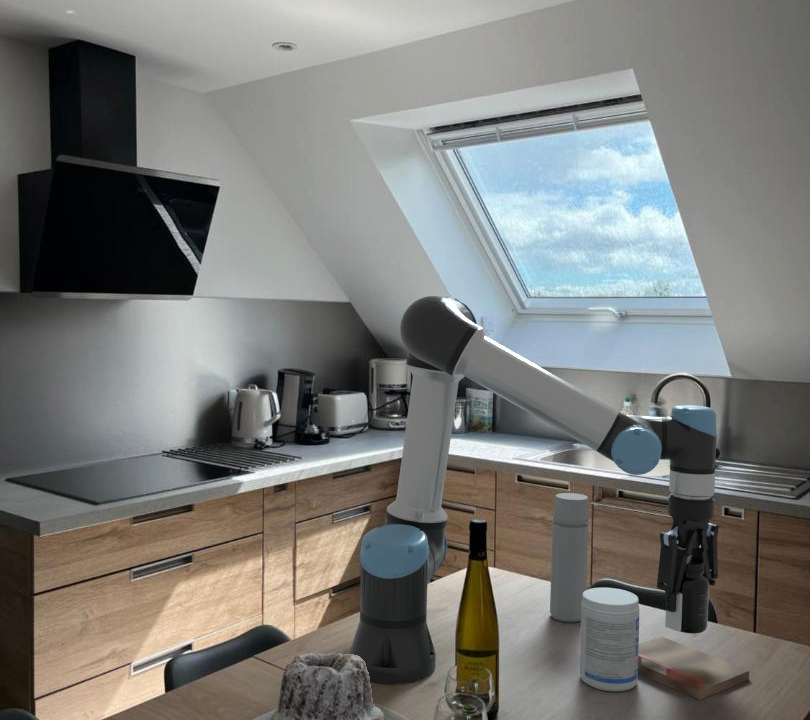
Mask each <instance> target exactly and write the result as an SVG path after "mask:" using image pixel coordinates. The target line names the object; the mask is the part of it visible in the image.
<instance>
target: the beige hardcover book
mask: <svg viewBox="0 0 810 720" xmlns="http://www.w3.org/2000/svg"><path fill="white" fill-rule="evenodd" d="M638 674H640V675H642V676H645V677H646V678H649V679H650V680H653V681H656V682H658V683H660V684H662V685H665V686H667V687H669V688H672V689H674V690H676V691H678V692H681V693H682V694H684V695H687V696H689V697H692V698H694V699H697V701H701V700H703V699H705V698H708V697H710V696H712V695H715V694H717V693H720V692H722V691H724V690H727V689H729V688H732V687H734V686H736V685H739V684H742V683H744V682H746V681H748V680H750V670H748V669H745V668H743V667H740V666H738V665H736V664H733V663H730V662H728V661H725V660H724V659H720V658H718V657H715V656H713V655H711V654H710V655H709V654H708V653H705V652H703V651H701V650H697V649H695V648H692V647H690V646H686V645H685V644H682V643H679V642H677V641H674V640H671V639H669V638H667V637H664V636H659V637H657V638H653V639H650V640H647V641H644V642H641V643H639V650H638Z"/></svg>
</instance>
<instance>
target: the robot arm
mask: <svg viewBox="0 0 810 720" xmlns="http://www.w3.org/2000/svg"><path fill="white" fill-rule="evenodd" d="M477 322H478V321H477V319H476V317H475V314H474V313H473V311H472V309H471V308H470V307H469V306H468V305H467V304H465V303H464V301H463V302H462V301H461V300H459V299H457V298H454V297H450V296H438V295H430V296H429V295H428V296H424V297H421V298H419V299H417V300H415V301H414V302H412V303H411V304H410V305H409V306H408V307H407V309H406V310H405V311H404V313H403V315H402V318H401V321H400V326H399V329H400V330H399V331H400V338H401V341H402V343H403V345H404V347H405V348H406V350H407V356H406V367H407V369H408V371H410V373H411V375H412V379H411V380H412V381H411V389H410V396H409V402H408V410H407V417H406V418H407V419H406V426H405V433H404V439H403V440H404V441H403V448H402V456H401V462H400V468H399V469H400V470H399V476H398V483H397V484H398V485H397V493H396V499H395V500H394V501H393V502H391V503H390V504H389V505H388V506H386V513H385V518H384V519H385V521H384V525H381V527H380V526H379V527H378V526H377V527H374V528H372V529H370V530H369V531H368V532H367V533H366V534H365V535H364V536H363V538H362V540H361V545H360V550H359V551H360V552H359V561H360V577H359V578H360V581H359V582H360V583H359V584H360V585H359V586H360V587H359V588H360V590H359V622H358V626H357V627H356V631H355V633H354V637H353V641H352V645H351V646H350V649H349V652H348V655H349V654H354V655H358V656H360V657H361V658H362V659H363V660H364V661H365V663H366V667H367V670H368V672H369V676H370V680H371V681H370V680H369V681H370V682H375V683H381V684H392V685H394V684H406V683H407V684H408V683H412V682H416V681H419V680H423V679H425V678H427V677H429V676H430V675H431V674H432V673H433V672H434V671H435V669H436V661H437V660H436V658H437V656H436V655H437V653H436V649H435V646H434V643H433V640H432V637H431V633H430V630H429V626H428V622H427V615H428V613H427V612H428V611H427V610H428V609H427V606H428V584H429V582H430V581H431V579H432V578H433V577H434V575H435V573H436V572H437V571H438V570H439V569H440V567H441V566H442V565H443V562H444V561H445V559H446V556H447V551H448V537H447V534H446V532H447V525H448V518H449V517H448V513H446V511H445V510H444V509H443V507H442V503H443V502H442V501H443V496H444V490H445V489H444V486H445V482H446V474H447V467H448V459H449V452H450V444H451V439H452V433H453V431H452V430H453V425H454V416H455V412H456V411H455V410H456V403H457V402H456V401H457V395H458V389H459V382H460V381H461V380H462V379H464V378H465V377H466V378H467V379H469V380H471V381H472V382H474V383H476V384H478V385H479V386H481V387H483V388H485V389H487V390H488V391H490V392H492V393H494V394H495V395H497V396H499V397H500V398H502V399H504V400H506V401H508V402H509V403H511V404H513V405H514V406H516V407H518V408H520V409H521V410H524V411H525V412H527V413H528V414H530V415H532V416H534V417H536V418H537V419H539V420H541V421H543V423H546V424H549V426H552V427H553V428H555V429H557V430H559V431H560V432H562V433H564V434H566V435H567V436H569V437H570V438H573V439H574V440H576V441H578V442H579V443H581V444H583V445H585V446H587V447H588V448H590V449H592V450H594V451H595V452H597V453H599V454H600V455H601V456H603V457H605V458H607V459H609V460H610V461H611V462H613V463H614V464H615V465H616V467H618V468H619V469H620V470H621V471H623V472H624V473H627V474H629V475H633V476H642V475H645V474H648V473H650V472H651V471H653V469H655V468H656V467H657V465H659V462H660V460H662V461H663V460H664V461H665V460H668V461H669V481H668V482H669V483H668V490H669V492H671V493H670V494H669V495H668V503H667V504H668V505H667V513H668V515H669V516H670V517H671V518H672V524H671V528H670V530H669V531H668V532H664V531H661V532H660V533H659V543H660V552H659V553H660V554H659V560H658V561H659V562H658V572H657V581H656V582H657V583H656V588H657V589H658V590H660V591H664V592H665V595H664V596H665V599H664V602H665V603H664V604H665V605H664V609H665V619H664V620H665V621H664V622H665V623H664V626H665V628H667V629H670V630H673V631H676V632H677V633H678V632H679V631H681V621H682V593H679V590H680V586H681V582H682V578H683V574H684V570H685V566H686V562H687V558H688V557H695V558H699V559H701V560H703V561H704V573H703V575H704V576H705V577H706V578H707V579H708V581H709V586H712V587H714V586H715V585H716V582H717V581H716V580H717V579H718V577H719V566H718V564H719V563H718V561H719V560H718V535H719V530H720V526H719V525H718V524H714V523H711V522H708V521H711V520H712V519H713V518H714V513H715V512H714V511H715V509H714V508H715V499H714V497H712V496H714V495H715V492H716V490H715V489H716V461H717V460H716V459H717V458H716V457H717V439H718V434H717V412H716V411H715V410H714V409H713V408H711V407H708V406H702V405H687V404H686V405H675V406H673V407H672V408H671V413H670V415H668V416H653V415H652V416H651V415H649V416H648V415H635V414H634V415H632V414H624V413H623V412H620V411H619V410H617V409H616V408H614V407H611V406H610V405H608V404H606V403H604V401H601V400H599V399H598V398H597V397H594V396H592V395H590V394H589V393H586V392H585V391H584V390H583V389H579V388H578V387H576V386H575V385H572V384H571V383H569V382H567V381H566V380H564V379H562V378H560V377H559V376H556V375H555V374H553V373H551V372H550V371H548V370H546V369H544V368H542V367H541V366H539V365H537V364H536V363H534V362H531V361H530V360H528V359H527V358H525V357H523V356H521V355H519V354H518V353H515V352H514V351H512V350H510V349H509V348H507V347H505V346H504V345H501V344H499V343H498V342H497V341H495V340H493V339H491V338H489V337H487V336H486V335H485V331H484V327H482V326H480V325H478V323H477ZM673 585H674V586H673ZM679 633H680V632H679Z"/></svg>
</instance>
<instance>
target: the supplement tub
mask: <svg viewBox="0 0 810 720" xmlns="http://www.w3.org/2000/svg"><path fill="white" fill-rule="evenodd" d="M639 602H640V601H639V597H638V595H636V594H635V593H633V592H630V591H628V590H625V589H621V588H614V587H593V588H589V589H586V591H584V592H583V595H582V602H581V603H582V604H581V621H580V648H579V649H580V650H579V651H580V652H579V653H580V654H579V656H580V657H579V658H580V659H579V675H580V678H581V680H582V681H583V683H586V684H587V686H590V687H593V688H594V689H596V690H599V691H605V692H606V691H607V692H625V691H628V690H631V689H633V688H634V687H635V686H636V685H637V683H638V679H639V673H638V650H639V644H640V643H639V642H640V641H639V639H640V605H639V604H640V603H639Z"/></svg>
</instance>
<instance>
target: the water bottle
mask: <svg viewBox="0 0 810 720" xmlns="http://www.w3.org/2000/svg"><path fill="white" fill-rule="evenodd" d="M554 498H555V499H554V505H553V506H554V507H553V513H552V516H551V517H550V519H551V520H553V521H552V531H551V563H550V564H551V565H550V568H551V569H550V595H549V597H550V599H549V601H550V602H549V613H550V615H551V617H552V618H553V619H555V620H557V621H559V622H564V623H573V624H574V623H577V622H581V604H582V603H581V602H582V595H583V592H584V591H586V590H587V581H588V580H587V578H588V577H587V576H588V575H587V574H588V553H589V552H588V550H589V544H588V543H589V524H588V523H591V520H590V517H591V516H590V505H589V504H590V503H589V501H590V500H589V497H588V495H585V494H581V493H576V492H575V493H574V492H562V493H561V492H560V493H556V494H555V497H554Z"/></svg>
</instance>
